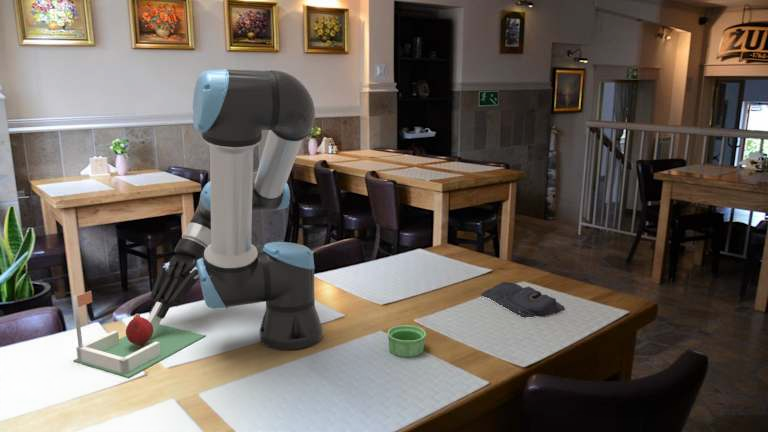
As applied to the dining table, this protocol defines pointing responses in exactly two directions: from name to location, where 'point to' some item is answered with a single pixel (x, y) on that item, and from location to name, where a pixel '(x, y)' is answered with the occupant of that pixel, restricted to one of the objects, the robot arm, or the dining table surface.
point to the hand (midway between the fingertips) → (149, 329)
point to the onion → (139, 330)
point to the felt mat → (166, 335)
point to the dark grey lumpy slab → (523, 300)
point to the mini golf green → (109, 346)
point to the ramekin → (406, 340)
